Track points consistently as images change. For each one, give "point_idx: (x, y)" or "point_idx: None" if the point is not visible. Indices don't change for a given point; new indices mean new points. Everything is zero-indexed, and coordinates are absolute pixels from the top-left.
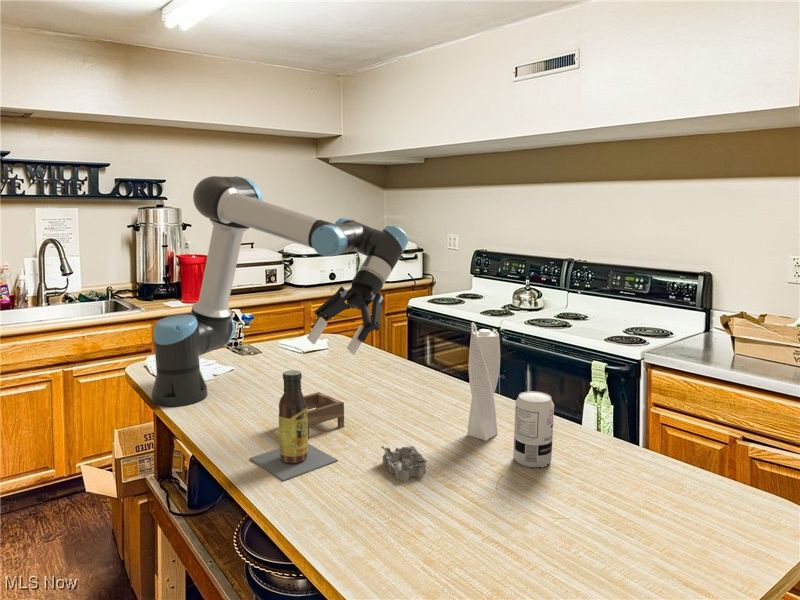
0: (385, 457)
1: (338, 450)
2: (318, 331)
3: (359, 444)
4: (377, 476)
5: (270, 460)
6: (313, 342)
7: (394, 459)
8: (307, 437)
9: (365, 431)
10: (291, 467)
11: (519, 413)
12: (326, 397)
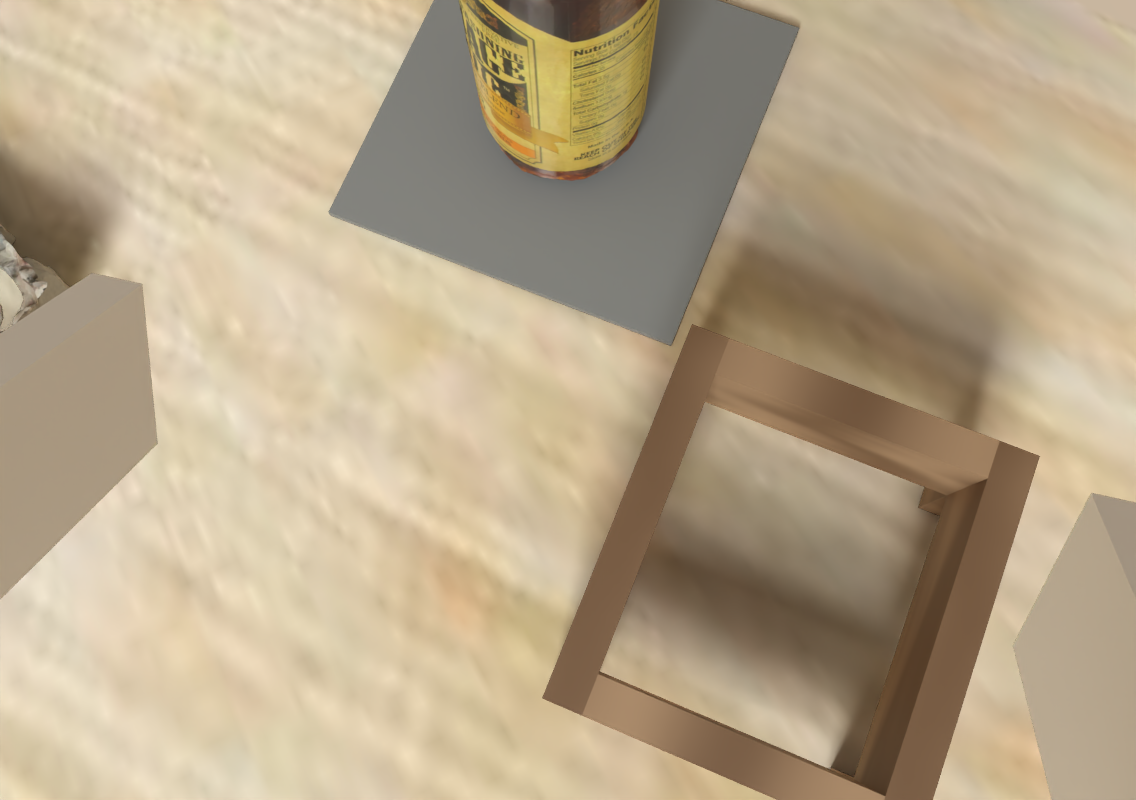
0: (24, 260)
1: (397, 336)
2: (1105, 770)
3: (315, 468)
4: (51, 156)
5: (674, 51)
6: (1031, 613)
7: None
8: (477, 80)
9: (371, 682)
10: None
11: None
12: (758, 748)
